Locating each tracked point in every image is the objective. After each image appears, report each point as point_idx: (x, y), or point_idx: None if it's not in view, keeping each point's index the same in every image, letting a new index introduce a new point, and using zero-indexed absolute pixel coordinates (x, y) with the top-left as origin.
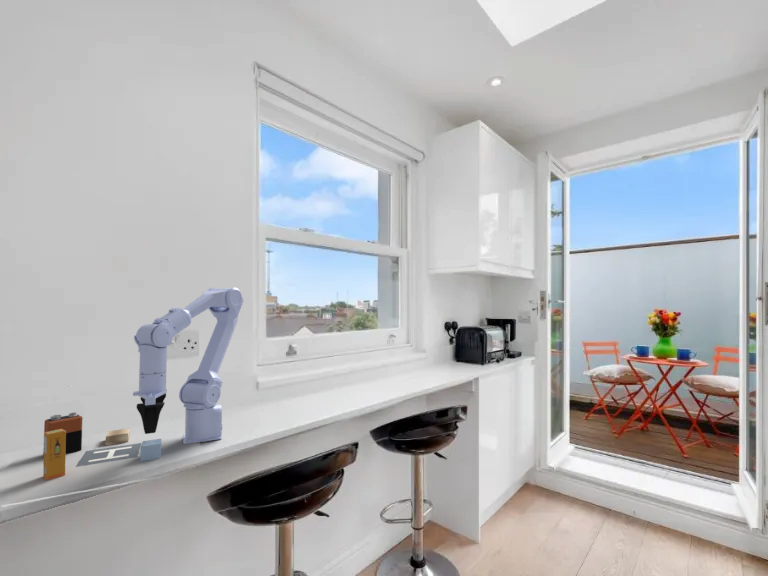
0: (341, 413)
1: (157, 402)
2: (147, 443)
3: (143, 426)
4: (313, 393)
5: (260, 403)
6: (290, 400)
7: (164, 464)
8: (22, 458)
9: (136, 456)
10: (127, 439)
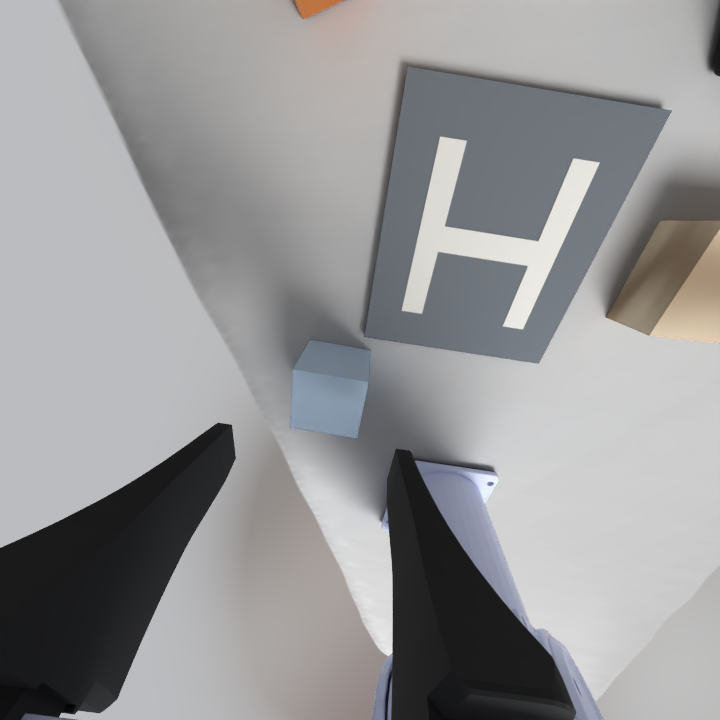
0: None
1: (399, 646)
2: (320, 393)
3: (183, 449)
4: None
5: (633, 638)
6: (579, 665)
7: (258, 395)
8: None
9: (371, 335)
10: (623, 321)
